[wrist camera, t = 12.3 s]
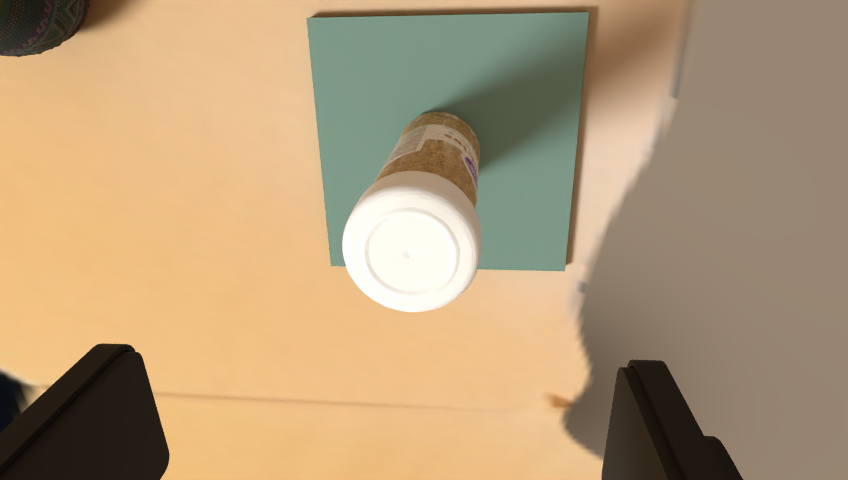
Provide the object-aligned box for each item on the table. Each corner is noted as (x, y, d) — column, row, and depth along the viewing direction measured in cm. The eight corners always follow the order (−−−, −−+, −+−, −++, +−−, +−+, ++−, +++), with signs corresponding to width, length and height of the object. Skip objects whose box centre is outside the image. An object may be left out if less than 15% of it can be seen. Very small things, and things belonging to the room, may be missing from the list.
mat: (333, 261, 33) (331, 265, 33) (309, 17, 28) (306, 17, 27) (563, 266, 32) (564, 271, 32) (587, 12, 27) (589, 12, 26)
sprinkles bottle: (496, 162, 29) (509, 275, 17) (427, 205, 31) (394, 339, 18) (448, 91, 28) (426, 159, 16) (379, 139, 29) (310, 236, 17)
